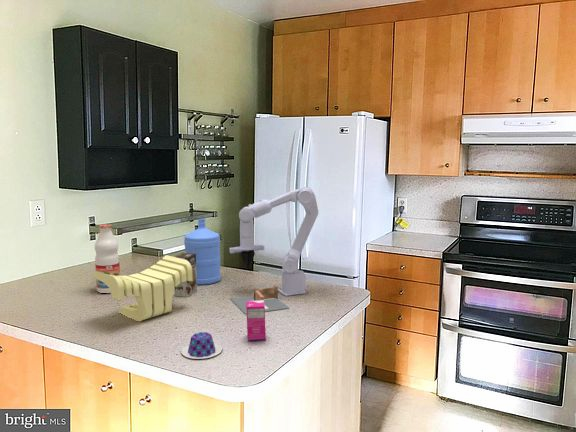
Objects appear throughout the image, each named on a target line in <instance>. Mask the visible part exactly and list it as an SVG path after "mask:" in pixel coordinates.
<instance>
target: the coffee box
mask: <svg viewBox="0 0 576 432" xmlns="http://www.w3.org/2000/svg"><path fill="white" fill-rule="evenodd" d="M175 257H176V258H180V259H184V260H187V261H188V262H189V263H190V264H191V267H192V278H193V281H187V280H186V281H185V282H180V284H179V285H177V287H175V286H174V293H173V296H175V297H183V298H189V297H191V296H192V295H193V294H195V293H196V292H197V291H198V285H197V275H196V254H195V253H187V252H186V253H185V252H182V253H180V254H178V255H176V256H175Z"/></svg>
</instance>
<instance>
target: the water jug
mask: <svg viewBox="0 0 576 432" xmlns="http://www.w3.org/2000/svg"><path fill="white" fill-rule="evenodd" d="M197 225H198V226H197V228H196V229H194V230H193V231H190V232H189V233H187V234H185V236H184V240H183V243H184V244H183V245H184V251H185V252H186V253H195V254H196V275H197V286H206V285H213V284H215V283H216V284H217V283H218V282H219V281H220V280H221V277H222V274H221V249H220V248H221V247H220V245H221V238H220V234H219V233H217V232H215V231H213V230H211V229H208V228H207V227H206V218H199V219H198V218H197Z"/></svg>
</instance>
